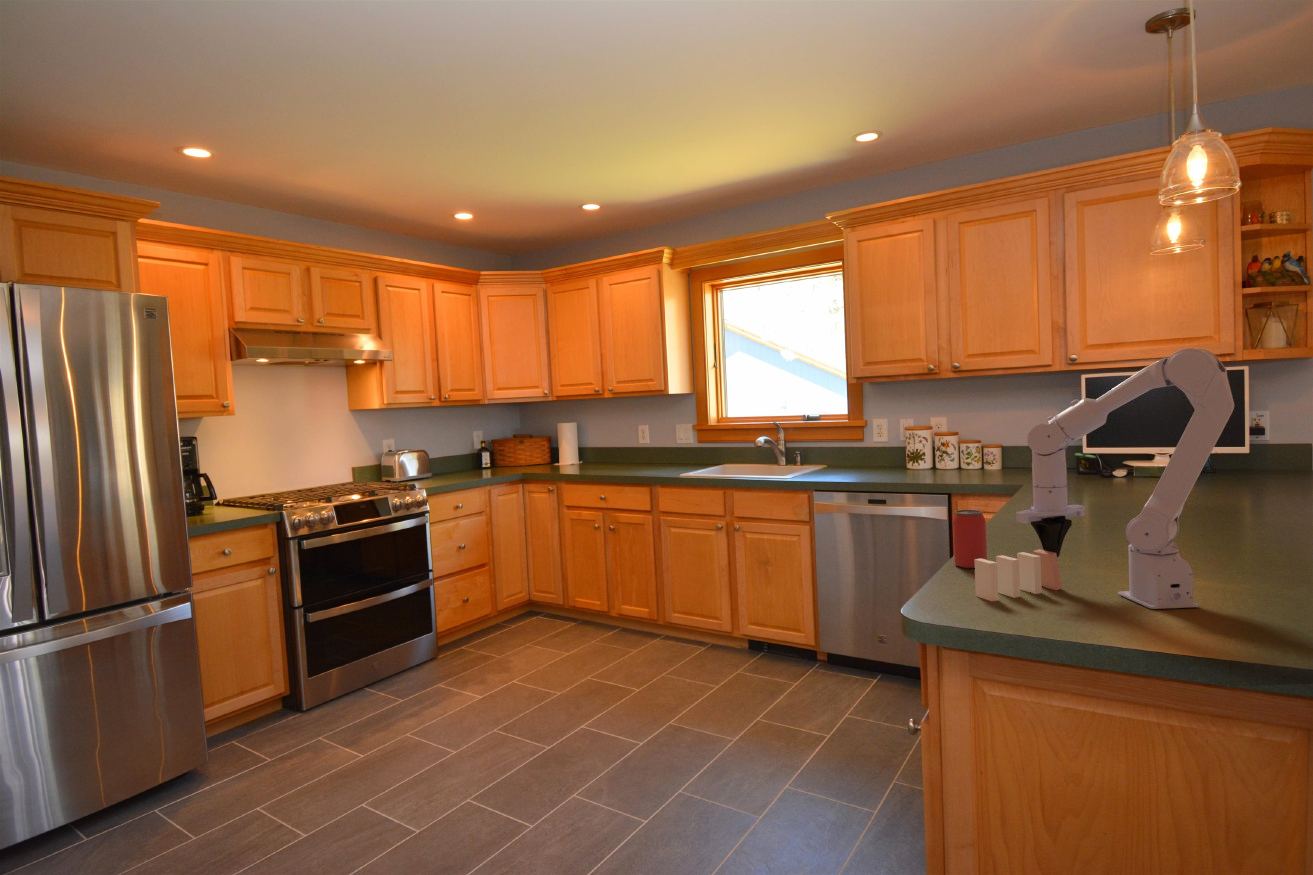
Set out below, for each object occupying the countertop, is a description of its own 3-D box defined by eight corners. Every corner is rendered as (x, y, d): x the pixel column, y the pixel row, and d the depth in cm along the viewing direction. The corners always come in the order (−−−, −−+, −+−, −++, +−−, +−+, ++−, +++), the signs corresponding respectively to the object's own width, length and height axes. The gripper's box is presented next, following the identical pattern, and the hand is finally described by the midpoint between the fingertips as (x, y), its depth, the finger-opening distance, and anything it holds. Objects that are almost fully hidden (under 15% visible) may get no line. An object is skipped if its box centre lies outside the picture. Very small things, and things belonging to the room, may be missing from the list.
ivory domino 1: (982, 594, 132) (980, 558, 132) (998, 600, 129) (997, 562, 128) (975, 596, 132) (974, 559, 132) (991, 601, 128) (990, 563, 128)
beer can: (989, 569, 150) (987, 514, 150) (955, 569, 152) (953, 514, 152) (985, 562, 156) (983, 509, 156) (953, 561, 159) (951, 509, 158)
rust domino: (1045, 583, 137) (1038, 548, 136) (1062, 588, 133) (1056, 552, 132) (1039, 585, 136) (1032, 551, 136) (1056, 590, 133) (1050, 555, 132)
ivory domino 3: (1024, 587, 135) (1023, 552, 135) (1041, 592, 132) (1040, 556, 131) (1018, 588, 135) (1017, 553, 135) (1035, 593, 131) (1034, 556, 131)
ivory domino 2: (1003, 591, 134) (1002, 555, 134) (1020, 596, 130) (1018, 559, 130) (997, 592, 133) (996, 556, 133) (1013, 597, 130) (1012, 560, 129)
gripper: (1062, 480, 140) (1064, 548, 141) (1002, 487, 136) (1005, 556, 136) (1093, 484, 133) (1095, 554, 134) (1032, 491, 129) (1034, 564, 130)
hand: (1051, 556), depth 135 cm, fingers closed
